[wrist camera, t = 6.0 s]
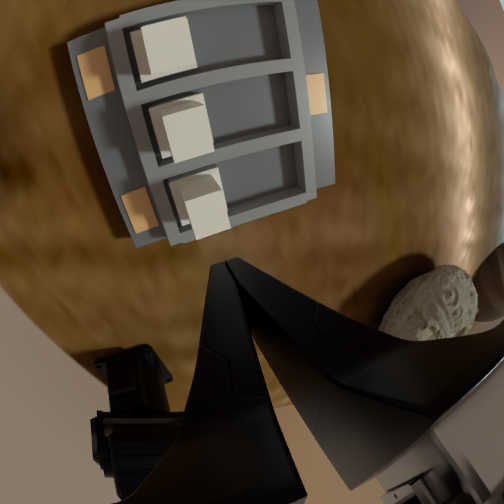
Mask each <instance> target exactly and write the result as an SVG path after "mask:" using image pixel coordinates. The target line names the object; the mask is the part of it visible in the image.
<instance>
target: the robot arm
mask: <svg viewBox="0 0 504 504" xmlns="http://www.w3.org/2000/svg"><path fill="white" fill-rule="evenodd" d="M252 337H253V339H254V340H255V342H256V344H257V345H258V347H259V349H260V350H261V352H262V354H263V355H264V357H265V359H266V360H267V362H268V364H269V365H270V367H271V369H272V370H273V372H274V374H275V375H276V377H277V379H278V380H279V382H280V384H281V385H282V387H283V388H284V390H285V392H286V393H287V395H288V397H289V398H290V400H291V401H292V403H293V405H294V406H295V408H296V409H297V411H298V412H299V414H300V416H301V417H302V419H303V420H304V422H305V424H306V425H307V427H308V428H309V430H310V431H311V433H312V434H313V436H314V437H315V439H316V441H317V442H318V444H319V445H320V447H321V448H322V450H323V451H324V453H325V454H326V456H327V457H328V459H329V460H330V462H331V463H332V465H333V466H334V468H335V469H336V471H337V472H338V474H339V475H340V477H341V478H342V479H343V481H344V483H345V484H346V486H347V487H348V488H349V490H350V491H351V490H353V489H355V488H357V487H358V486H361V485H362V484H364V483H366V482H368V481H370V480H371V479H373V478H375V477H376V478H377V480H378V481H379V483H380V484H381V486H382V488H383V489H384V491H385V493H386V494H384V495H382V496H381V498H382V500H383V502H384V503H385V504H504V320H503V321H502V322H501V323H500V324H499V325H497V326H496V327H495V328H493V329H491V330H488V331H485V332H482V333H477V334H471V335H464V336H457V337H450V338H442V339H434V340H425V341H411V340H405V339H401V338H398V337H395V336H393V335H390V334H388V333H385V332H382V331H380V330H378V329H375V328H373V327H370V326H368V325H365V324H363V323H360V322H358V321H356V320H353V319H351V318H349V317H346V316H344V315H342V314H340V313H338V312H336V311H334V310H332V309H330V308H328V307H327V306H325V305H323V304H321V303H319V302H318V303H317V301H315V300H314V299H312V298H310V297H308V296H306V295H305V294H303V293H301V292H299V291H297V290H296V289H294V288H292V287H290V286H288V285H287V284H285V283H283V282H281V281H279V280H278V279H276V278H274V277H272V276H270V275H269V274H267V273H265V272H263V271H261V270H260V269H258V268H256V267H254V266H253V265H251V264H249V263H247V262H245V261H244V260H242V259H240V258H238V257H234V258H231V259H228V260H225V263H224V262H219V263H216V264H213V265H211V267H210V273H209V279H208V286H207V292H206V299H205V306H204V313H203V320H202V327H201V334H200V341H199V347H198V355H197V361H196V367H195V373H194V377H193V381H192V385H191V389H190V392H189V396H188V399H187V403H186V406H185V410H184V412H170V408H169V403H168V399H167V395H166V390H165V385H164V384H166V383H169V382H172V381H173V377H172V375H171V373H170V372H169V371H168V369H167V368H166V367H165V365H164V364H163V362H162V361H161V360H160V358H159V357H158V355H157V354H156V352H155V351H154V349H153V348H152V347H151V346H149V345H146V346H142V347H139V348H136V349H133V350H130V351H127V352H123V353H120V354H117V355H114V356H111V357H107V358H104V359H101V360H97V361H95V362H94V368H95V369H96V370H97V371H98V372H99V373H100V374H101V375H102V376H103V377H104V379H105V380H106V381H107V385H108V394H109V404H110V412H102V411H97V417H95V418H92V419H91V420H90V422H91V435H92V451H93V460H94V461H95V462H96V463H98V464H99V465H100V467H101V469H102V470H104V476H105V477H109V478H110V477H112V478H114V483H115V488H116V493H117V495H118V497H119V498H120V499H121V500H122V501H120V502H117V503H113V504H304V502H305V500H306V498H307V492H306V490H305V488H304V485H303V483H302V480H301V478H300V476H299V473H298V471H297V468H296V466H295V463H294V461H293V458H292V456H291V453H290V451H289V448H288V446H287V443H286V441H285V438H284V436H283V433H282V431H281V428H280V425H279V423H278V420H277V417H276V415H275V412H274V409H273V405H272V402H271V399H270V396H269V392H268V389H267V386H266V383H265V379H264V376H263V373H262V369H261V366H260V363H259V359H258V356H257V352H256V349H255V346H254V342H253V339H252Z"/></svg>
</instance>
